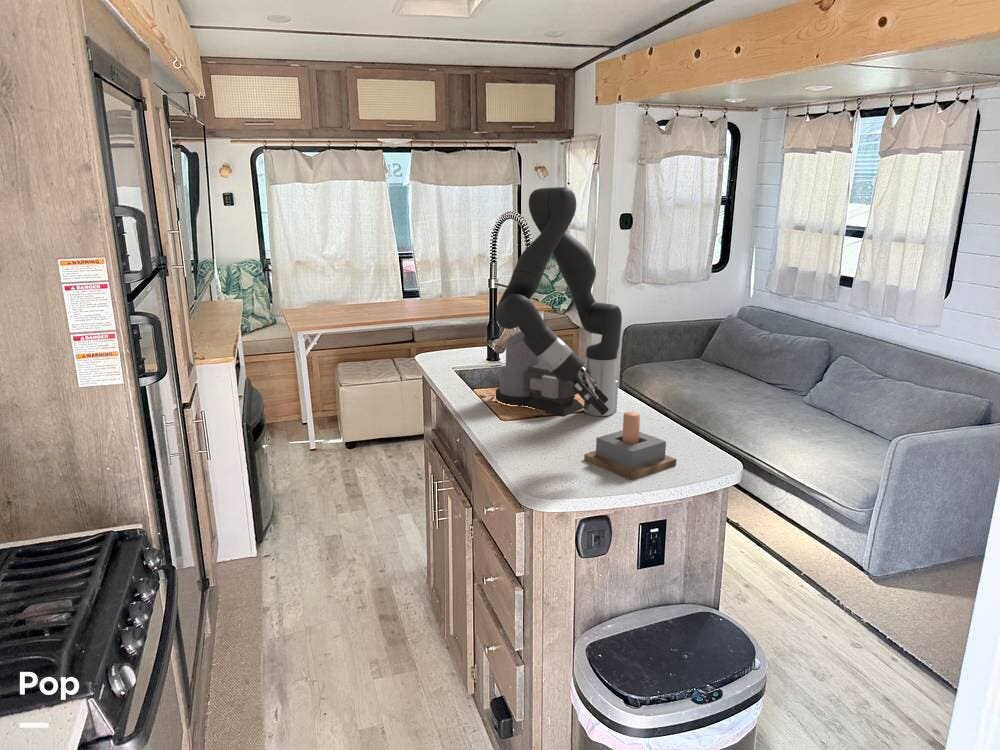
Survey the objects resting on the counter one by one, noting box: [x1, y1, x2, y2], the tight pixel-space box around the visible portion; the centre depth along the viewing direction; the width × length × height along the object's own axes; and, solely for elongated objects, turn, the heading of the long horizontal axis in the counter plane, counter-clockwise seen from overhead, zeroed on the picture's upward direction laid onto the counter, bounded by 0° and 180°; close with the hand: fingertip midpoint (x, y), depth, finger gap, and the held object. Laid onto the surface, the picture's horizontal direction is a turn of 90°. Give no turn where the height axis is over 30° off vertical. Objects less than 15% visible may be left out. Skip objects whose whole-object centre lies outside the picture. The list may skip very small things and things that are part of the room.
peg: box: [622, 411, 641, 445], centre depth 176 cm, size 4×4×11 cm
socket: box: [595, 429, 667, 469], centre depth 177 cm, size 12×12×4 cm
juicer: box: [495, 330, 584, 418], centre depth 223 cm, size 30×16×24 cm, turn 52°
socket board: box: [583, 450, 677, 481], centre depth 178 cm, size 16×16×2 cm
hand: (605, 407), depth 175 cm, fingers open, 8 cm apart
